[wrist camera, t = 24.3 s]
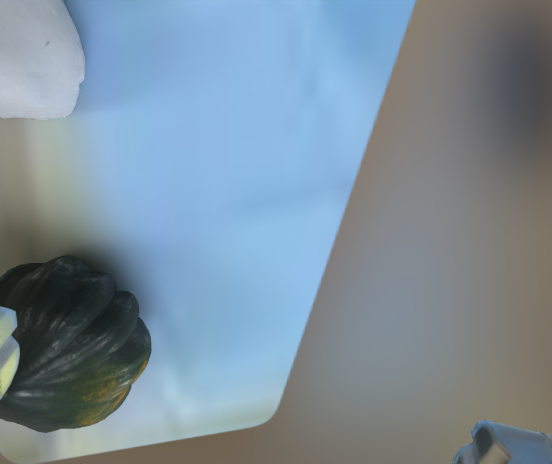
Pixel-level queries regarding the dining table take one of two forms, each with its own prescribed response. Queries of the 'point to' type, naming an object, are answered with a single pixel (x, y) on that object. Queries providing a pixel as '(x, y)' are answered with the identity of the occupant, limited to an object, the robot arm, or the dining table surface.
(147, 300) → the dining table surface
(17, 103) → the decorative stone
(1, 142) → the dining table surface
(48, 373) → the squash
